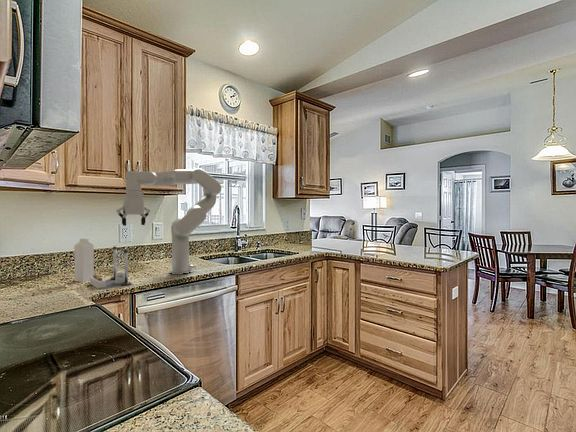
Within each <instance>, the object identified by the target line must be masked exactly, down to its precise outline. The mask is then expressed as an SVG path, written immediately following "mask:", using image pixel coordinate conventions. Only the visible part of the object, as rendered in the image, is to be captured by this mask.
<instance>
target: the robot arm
mask: <svg viewBox="0 0 576 432" xmlns="http://www.w3.org/2000/svg"><path fill="white" fill-rule="evenodd" d="M194 184H195V185H196V184H198V185H199V186H200V187H201V188H202V193H203V196H202V197H201V198H200V199H199V201H197V202H196V203H195V204H194V205H192V206H191V207H190V208H188V210H187V211H186V214H185V215H183V216H182V218H177V219H175V220H173V222H172V223H171V226H170V227H171V228H170V229H171V230H170V231H171V233H170V234H171V270H169V272H168V273H169V274H170V273H172V274H171V275H184V274H183V273H188V274H190V273H189V272H191V271H192V269H197V267H198V266H197V264H191V263H190V238H189V237H190V234H191V233H193V232H194V231H195V230H196V229H197V228H198V227H199V226H200V225H201V224H203V223H204V221H206V219H207V214H208V213H209V212H210V211H211V210H212V209H213V208H214V206H215V204H216V202H217V195H219V194H220V193H221V192H222V184H221V183H220V182H219V181H218V180H217V179H215V177H213V176H212V175H210V174H209V173H208V172H207V171H206V170H205V169H203V168H199V167H198V168H194V169H193V168H192V169H174V170H173V169H172V170H168V171H163V172H161V171H160V172H153V171H147V170H145V171H137V170H128V171H126V174H125V190H126V191H125V195H124V196H123V203H122V207H119V208H118V209H116V210H115V211H116V213H117V215H118V216H119V217H120V218H121V225H122V226H124V227H125V226H127V218H126V217H127V216H128V215H130V216H131V215H140V216H141V218H140V221H141V223H140V224H141V226H145V225H146V218H147V217H148V216H149V214H150V213H151V210H150V209H149V208H147V207H145V201H144V197H143V195H145V192H144V191H142V185H143V186H147V187H151V186H152V187H153V186H154V187H155V186H177V185H194ZM121 211H122V212H121ZM145 211H146V212H145ZM191 273H192V272H191Z"/></svg>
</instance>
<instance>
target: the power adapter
mask: <svg viewBox="0 0 576 432" xmlns="http://www.w3.org/2000/svg"><path fill="white" fill-rule="evenodd" d="M115 276H116V284H121V283H123V282H125V271H124V270H122V269H121V270H117V271H116V275H115Z"/></svg>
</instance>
